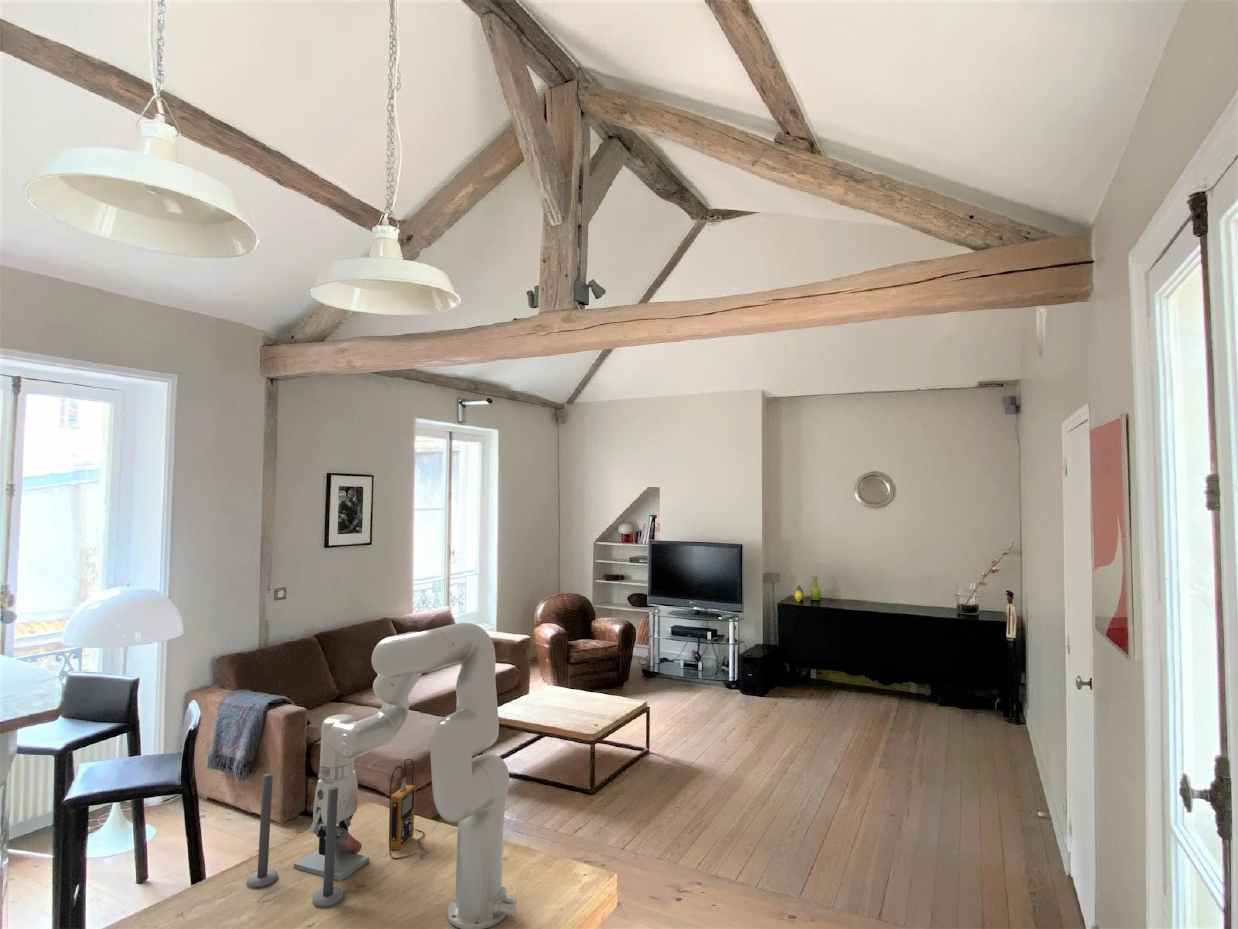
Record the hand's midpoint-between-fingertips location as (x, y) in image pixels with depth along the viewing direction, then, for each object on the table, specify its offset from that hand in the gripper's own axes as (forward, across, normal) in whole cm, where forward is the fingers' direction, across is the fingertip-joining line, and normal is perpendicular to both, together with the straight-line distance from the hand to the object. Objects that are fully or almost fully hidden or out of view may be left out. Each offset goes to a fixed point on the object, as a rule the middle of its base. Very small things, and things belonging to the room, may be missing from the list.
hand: (333, 848), depth 155 cm
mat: (+4, 0, 0) cm, 4 cm away
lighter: (+2, +5, 0) cm, 5 cm away
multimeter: (+4, +15, -12) cm, 20 cm away
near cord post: (+4, -11, -9) cm, 15 cm away
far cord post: (+4, -11, +10) cm, 15 cm away
